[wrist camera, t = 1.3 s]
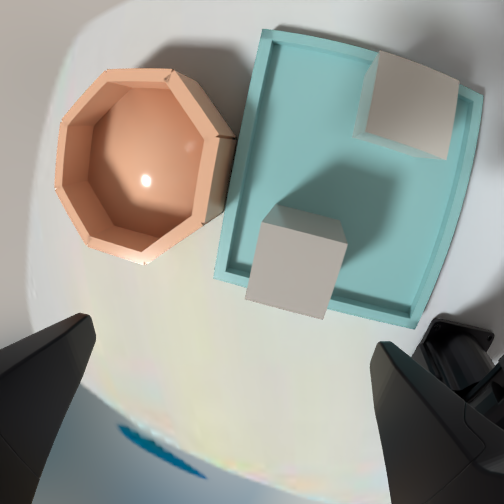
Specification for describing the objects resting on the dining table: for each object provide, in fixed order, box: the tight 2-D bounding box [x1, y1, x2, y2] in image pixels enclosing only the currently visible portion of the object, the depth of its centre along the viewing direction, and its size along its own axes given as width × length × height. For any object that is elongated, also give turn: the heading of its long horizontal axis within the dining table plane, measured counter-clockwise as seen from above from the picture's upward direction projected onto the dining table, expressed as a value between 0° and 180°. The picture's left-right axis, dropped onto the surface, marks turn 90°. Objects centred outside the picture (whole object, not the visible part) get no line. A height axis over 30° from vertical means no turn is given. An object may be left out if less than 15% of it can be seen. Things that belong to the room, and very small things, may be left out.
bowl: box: [55, 68, 237, 265], centre depth 18 cm, size 12×12×4 cm
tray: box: [213, 29, 484, 329], centre depth 17 cm, size 14×16×1 cm
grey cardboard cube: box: [352, 50, 460, 160], centre depth 13 cm, size 4×4×5 cm
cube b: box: [245, 204, 348, 320], centre depth 17 cm, size 4×4×5 cm
